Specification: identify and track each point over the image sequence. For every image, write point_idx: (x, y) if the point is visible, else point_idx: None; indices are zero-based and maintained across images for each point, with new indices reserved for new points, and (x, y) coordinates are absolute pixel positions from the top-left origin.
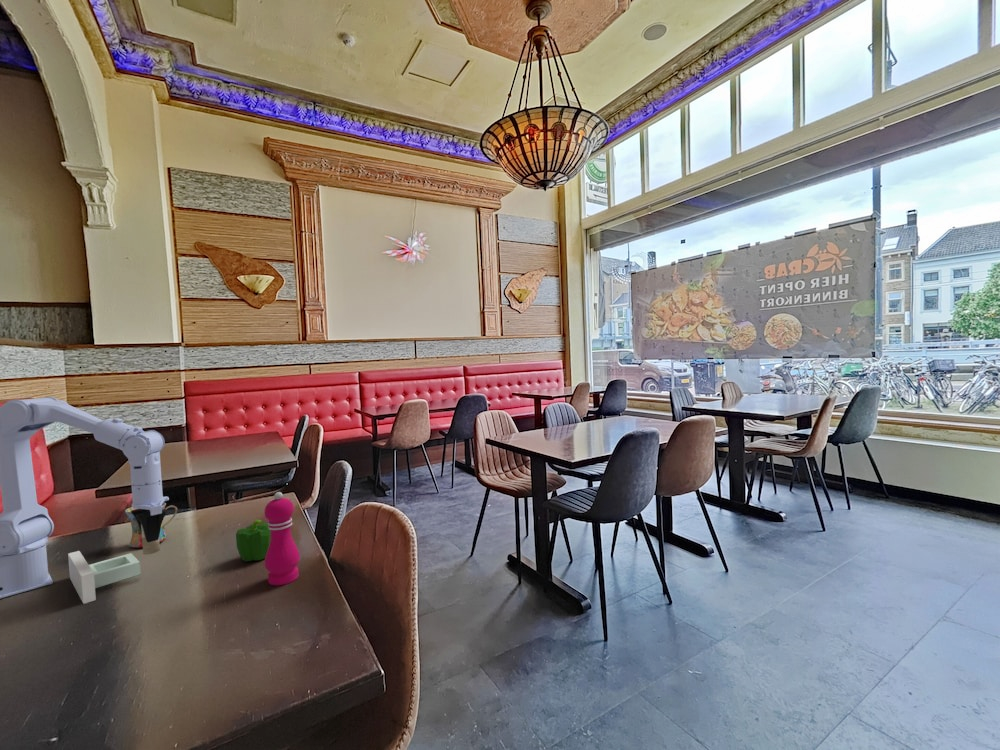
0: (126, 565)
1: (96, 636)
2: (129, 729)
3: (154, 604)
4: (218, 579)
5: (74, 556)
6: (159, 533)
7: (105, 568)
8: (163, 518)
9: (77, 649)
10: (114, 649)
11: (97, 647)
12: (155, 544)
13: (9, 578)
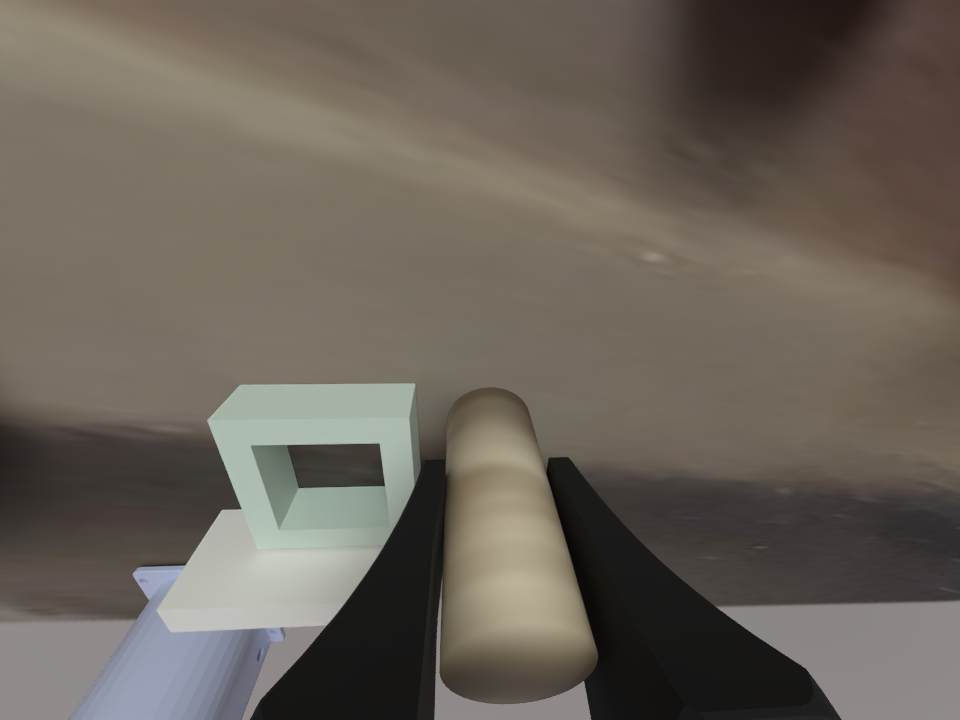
0: (406, 458)
1: (789, 518)
2: None
3: (774, 406)
4: (857, 171)
5: (245, 621)
6: (590, 486)
7: (282, 480)
8: (713, 606)
9: (804, 543)
10: (904, 502)
11: (847, 521)
12: (537, 443)
13: (243, 673)
